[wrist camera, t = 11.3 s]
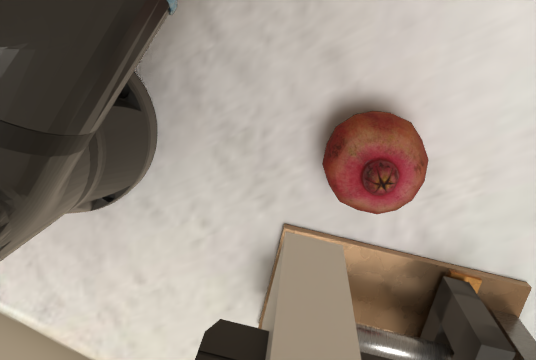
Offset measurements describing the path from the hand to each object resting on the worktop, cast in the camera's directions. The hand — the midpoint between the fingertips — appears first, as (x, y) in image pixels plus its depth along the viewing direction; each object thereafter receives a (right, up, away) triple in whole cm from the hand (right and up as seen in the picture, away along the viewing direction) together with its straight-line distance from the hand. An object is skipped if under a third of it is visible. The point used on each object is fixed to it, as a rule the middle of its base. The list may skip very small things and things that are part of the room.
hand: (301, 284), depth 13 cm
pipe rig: (+11, -9, +34) cm, 36 cm away
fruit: (+8, +5, +30) cm, 31 cm away
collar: (+15, -11, +32) cm, 36 cm away
